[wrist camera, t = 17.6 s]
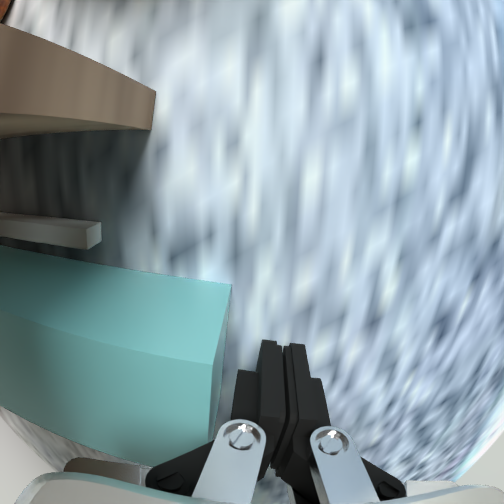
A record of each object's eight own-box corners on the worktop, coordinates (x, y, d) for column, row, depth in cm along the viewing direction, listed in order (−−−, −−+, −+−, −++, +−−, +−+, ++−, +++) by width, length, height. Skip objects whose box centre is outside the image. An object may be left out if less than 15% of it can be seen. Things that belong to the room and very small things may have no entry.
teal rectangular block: (-14, 325, 14) (-60, 364, 9) (-32, 238, 12) (-91, 266, 7) (220, 394, 14) (206, 477, 9) (231, 284, 12) (212, 364, 7)
